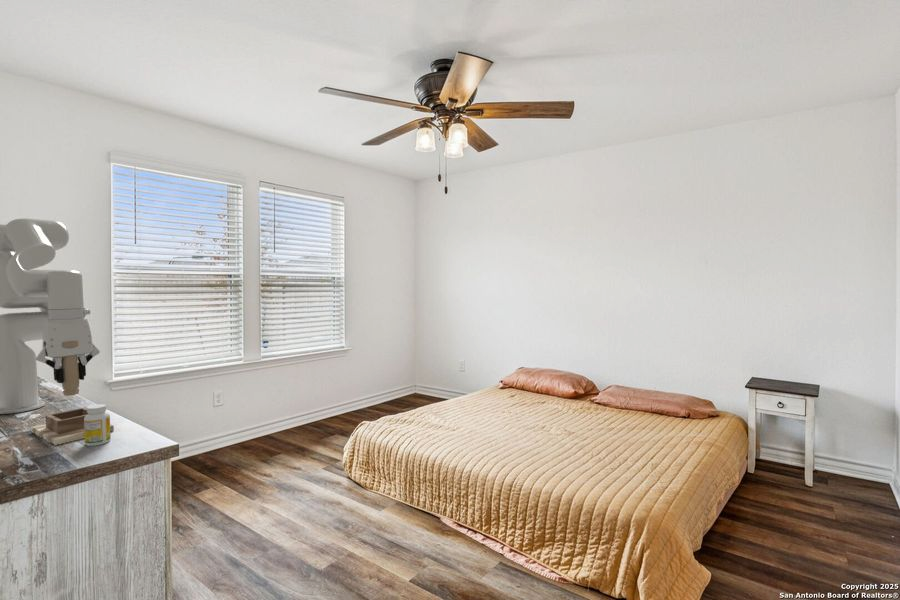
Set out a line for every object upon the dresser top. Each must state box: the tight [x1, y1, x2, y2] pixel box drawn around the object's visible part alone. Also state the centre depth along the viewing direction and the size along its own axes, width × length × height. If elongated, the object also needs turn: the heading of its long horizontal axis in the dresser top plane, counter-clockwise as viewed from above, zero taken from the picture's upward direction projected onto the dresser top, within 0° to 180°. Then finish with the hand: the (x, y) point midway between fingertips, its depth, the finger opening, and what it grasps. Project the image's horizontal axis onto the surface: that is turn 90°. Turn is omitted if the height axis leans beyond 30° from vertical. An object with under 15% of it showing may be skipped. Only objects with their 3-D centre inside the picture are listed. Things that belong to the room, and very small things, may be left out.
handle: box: [61, 341, 80, 397], centre depth 126 cm, size 5×6×15 cm
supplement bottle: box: [84, 403, 111, 447], centre depth 119 cm, size 5×5×10 cm
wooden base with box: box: [31, 406, 115, 446], centre depth 127 cm, size 18×13×5 cm
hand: (70, 380), depth 127 cm, fingers closed on handle, 3 cm apart
